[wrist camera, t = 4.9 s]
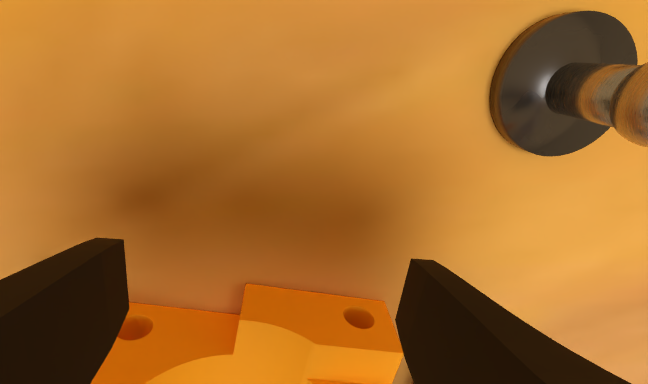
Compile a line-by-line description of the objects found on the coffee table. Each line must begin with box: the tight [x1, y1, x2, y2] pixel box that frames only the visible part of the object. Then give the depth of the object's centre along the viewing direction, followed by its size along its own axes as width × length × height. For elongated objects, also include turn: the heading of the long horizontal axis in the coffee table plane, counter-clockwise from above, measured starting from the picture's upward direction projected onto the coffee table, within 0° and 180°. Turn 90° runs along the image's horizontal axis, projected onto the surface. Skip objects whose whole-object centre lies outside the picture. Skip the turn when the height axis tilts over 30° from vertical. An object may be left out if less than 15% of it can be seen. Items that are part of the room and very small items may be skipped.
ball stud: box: [490, 11, 648, 156], centre depth 11 cm, size 5×5×6 cm
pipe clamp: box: [91, 283, 404, 384], centre depth 13 cm, size 12×4×6 cm, turn 77°
